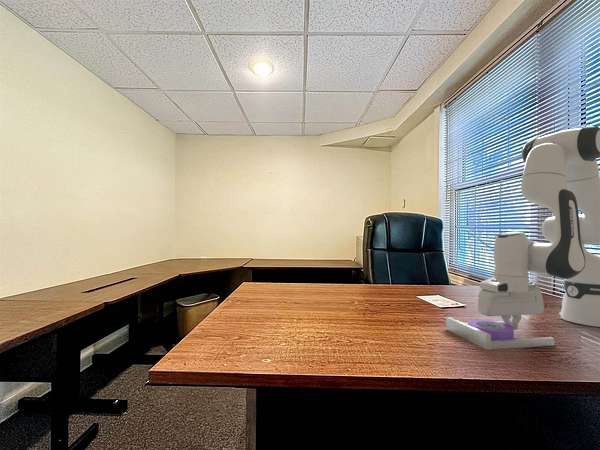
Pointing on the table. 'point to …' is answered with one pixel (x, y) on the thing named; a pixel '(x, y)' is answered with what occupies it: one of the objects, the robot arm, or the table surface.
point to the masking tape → (494, 329)
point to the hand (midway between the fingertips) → (511, 329)
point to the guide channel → (485, 338)
